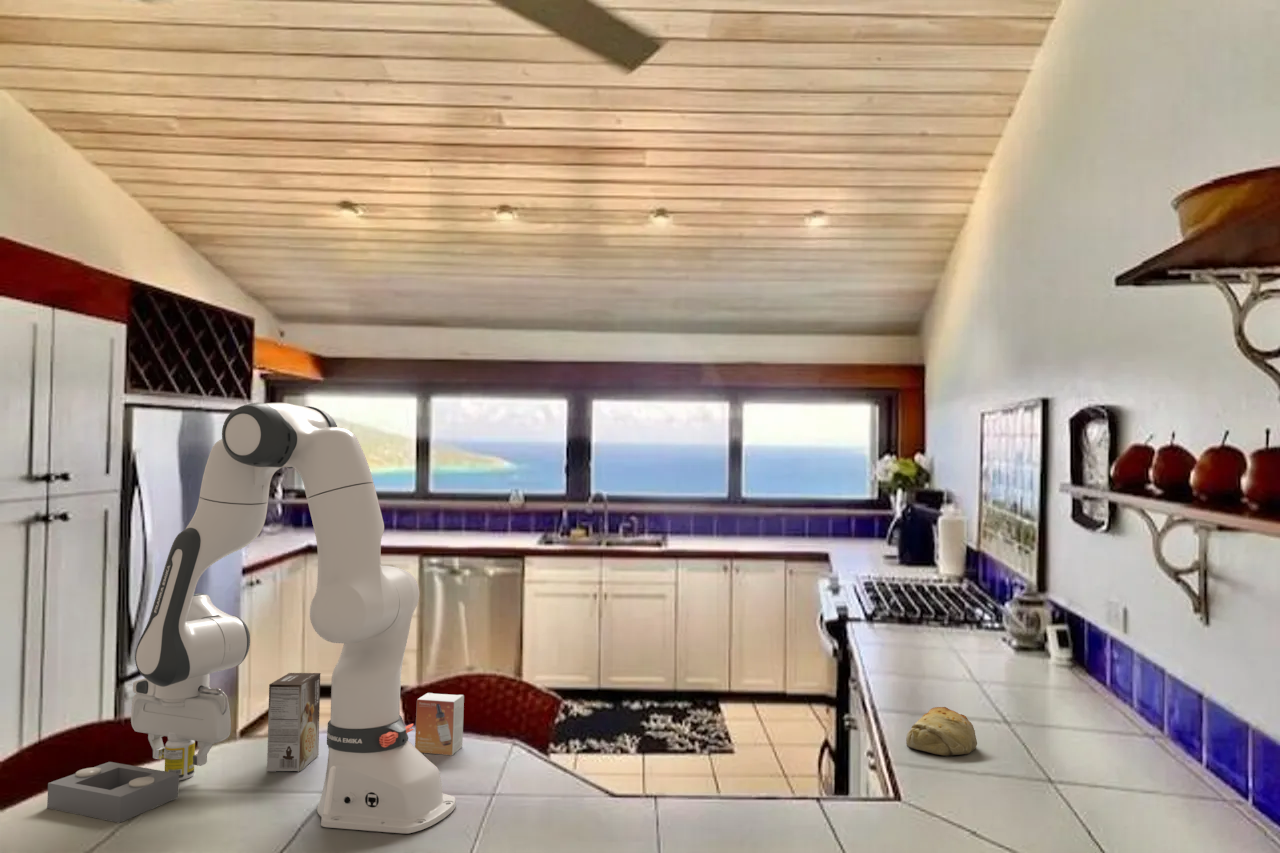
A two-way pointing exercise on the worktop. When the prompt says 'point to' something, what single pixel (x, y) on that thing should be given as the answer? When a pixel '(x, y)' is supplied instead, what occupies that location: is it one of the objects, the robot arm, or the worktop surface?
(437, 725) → the small box
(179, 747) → the supplement bottle
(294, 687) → the coffee box
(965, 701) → the worktop surface
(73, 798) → the housing
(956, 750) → the pastry
